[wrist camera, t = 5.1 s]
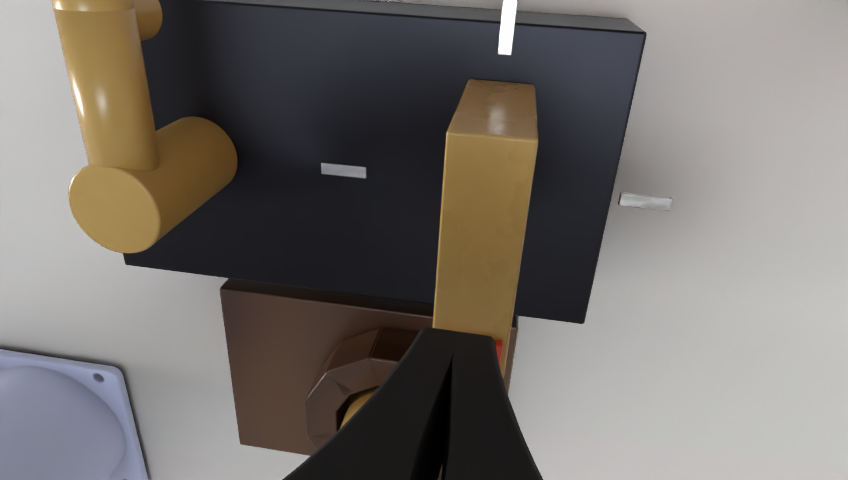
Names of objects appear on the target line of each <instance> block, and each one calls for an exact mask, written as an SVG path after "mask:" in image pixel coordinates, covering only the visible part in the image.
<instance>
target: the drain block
mask: <svg viewBox="0 0 848 480" xmlns="http://www.w3.org/2000/svg"><path fill="white" fill-rule="evenodd" d="M220 296H221V303H222V311H223V318H224V326H225V333H226V341H227V349H228V356H229V364H230V371H231V379H232V386H233V394H234V401H235V409H236V416H237V424H238V431H239V439H240V444H242V445H248V446H254V447H261V448H267V449H273V450H279V451H285V452H291V453H297V454H303V455H309V456H311V455H313V454H314V453H315V452H316V451H317V450H318V449H319V448H320V447H321V446H323V445H324V444H325V443H326V442H327V441H328V440H329V439H330V438H331V437H332V436H333V435H334V434H335V433H336V432H337V431H338V430H339V429H340V427H341V425H342V422H343V419H344V417H345V414H346V412H347V409H348V407H349V405H350V403H351V402H352V401H353V400H354V398H355V397H357V396H358V395H359V394H361V393H363V392H364V391H367V390H369V389H373V388H378V387H379V386H380V385H381V384H382V382H383V381H384V380H385V379H386V378H387V376H388V375H389V374H390V373H391V372H392V370H393V369H394V368H395V366H396V365H397V364H398V362H399V361H400V360H401V358H402V357H403V356H404V354H405V353H406V351H407V350H408V349H409V347H410V346H411V344H412V343H413V341H414V339H415V338H416V336H417V334H418V333H419V331H420V330H422V329H423V328H425V327H430V328H433V314H434V305H433V304H425V303H418V302H410V301H402V300H394V299H387V298H379V297H371V296H364V295H356V294H348V293H340V292H333V291H325V290H317V289H310V288H302V287H294V286H287V285H279V284H271V283H263V282H256V281H248V280H240V279H233V278H228V279H227V281H226V282H225V283H224V284H223V285H222V286H221V287H220ZM517 332H518V315H513V319H512V326H511V332H510V339H509V346H508V353H507V360H506V367H505V373H504V378H503V381H504V385H505V388H506V391H507V394H508V391H509V384H510V378H511V371H512V365H513V358H514V352H515V345H516V339H517ZM441 475H442V467H441V471H440V475H439V479H438V480H441Z"/></svg>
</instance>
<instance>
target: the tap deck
mask: <svg viewBox="0 0 848 480" xmlns="http://www.w3.org/2000/svg"><path fill="white" fill-rule="evenodd" d="M158 1H159V3H160V6H161V9H162V24H161V27H160V29H159V31H158V32H157V34H156V35H155V36H153V37H152V38H150V39H147V40H144V41H141V47H142V53H143V59H144V65H145V71H146V77H147V83H148V89H149V94H150V100H151V106H152V112H153V118H154V124H155V130H156V131H157V130H159V129H161V128H163V127H165V126H167V125H169V124H171V123H173V122H175V121H177V120H179V119H181V118H184V117H200V118H204V119H207V120H209V121H211V122H213V123H215V124H216V125H218V126H219V127H220V128H221V129H223V130H224V131H225V133H226V134H227V135H228V136H229V138H230V139H231V141H232V143H233V145H234V147H235V150H236V153H237V170H236V173H235V176H234V177H233V179H232V180H231V182H230V183H229V184H227V185H226V186H225V187H224V188H223V189H221V190H220V191H219V192H218V193H216V194H215V195H214V196H213V197H211V198H210V199H209V200H208V201H206V202H205V203H204V204H203V205H201V206H200V207H199V208H198V209H197V210H195V211H194V212H193V213H192V214H190V215H189V216H188V217H187V218H185V219H184V220H183V221H182V222H180V223H179V224H178V225H177V226H175V227H174V228H173V229H172V230H170V231H169V232H168V233H167V234H166V235H164V236H163V237H162V238H161V239H159V240H158V241H157V242H156V243H154V244H153V245H152V246H151V247H149V248H148V249H146V250H144V251H141V252H137V253H123V255H124V260H125V264H126V265H132V266H140V267H148V268H155V269H163V270H171V271H179V272H186V273H194V274H202V275H209V276H217V277H225V278H233V279H240V280H248V281H256V282H263V283H271V284H279V285H287V286H294V287H302V288H310V289H317V290H325V291H333V292H340V293H348V294H356V295H364V296H371V297H379V298H387V299H394V300H402V301H410V302H418V303H425V304H433V305H434V300H435V286H436V271H437V257H438V243H439V229H440V214H441V200H442V186H443V171H444V157H445V143H446V132H447V130H448V128H449V125H450V123H451V121H452V118H453V116H454V113H455V111H456V109H457V106H458V104H459V102H460V99H461V97H462V94H463V92H464V90H465V87H466V85H467V83H468V80H470V79H474V80H486V81H498V82H510V83H522V84H533V85H534V86H535V96H536V112H537V128H538V148H537V155H536V162H535V169H534V175H533V182H532V189H531V196H530V203H529V210H528V216H527V223H526V230H525V237H524V244H523V251H522V257H521V264H520V271H519V278H518V285H517V291H516V298H515V305H514V312H513V315H518V316H525V317H533V318H541V319H549V320H556V321H564V322H572V323H579V324H583V323H584V322H585V317H586V312H587V308H588V303H589V299H590V294H591V289H592V285H593V280H594V275H595V271H596V266H597V262H598V257H599V252H600V248H601V243H602V239H603V234H604V229H605V225H606V220H607V215H608V211H609V206H610V202H611V197H612V192H613V188H614V183H615V179H616V174H617V169H618V165H619V160H620V155H621V151H622V146H623V142H624V137H625V132H626V128H627V123H628V119H629V114H630V109H631V105H632V100H633V95H634V91H635V86H636V82H637V77H638V72H639V68H640V63H641V59H642V54H643V49H644V45H645V40H646V35H647V34H646V32H645V31H643V30H642V29H641V28H639V27H638V26H637V25H635V24H634V23H632V22H631V21H630V20H628V19H624V18H609V17H595V16H581V15H567V14H552V13H538V12H524V11H517V2H518V0H503V8H502V10H495V9H481V8H466V7H452V6H438V5H424V4H409V3H395V2H381V1H366V0H158ZM671 203H672V198H671V197H663V196H653V195H644V194H634V193H624V192H621V193H620V197H619V202H618V204H619V205H620V206H630V207H639V208H649V209H658V210H668V211H669V210H670V206H671Z"/></svg>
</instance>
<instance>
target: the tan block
mask: <svg viewBox="0 0 848 480" xmlns="http://www.w3.org/2000/svg"><path fill="white" fill-rule="evenodd" d="M537 148H538V128H537V112H536V96H535V86H534V85H533V84H522V83H510V82H498V81H486V80H474V79H470V80H468V83H467V85H466V87H465V90H464V92H463V94H462V97H461V99H460V102H459V104H458V106H457V109H456V111H455V113H454V116H453V118H452V121H451V123H450V125H449V128H448V130H447V132H446V143H445V157H444V171H443V186H442V200H441V214H440V229H439V243H438V257H437V271H436V286H435V300H434V314H433V328H437V329H444V330H452V331H459V332H466V333H473V334H480V335H488V336H491V337H492V338H493V339H494V340H495V341H496V349H497V356H498V361H499V366H500V370H501V374H502V377H503V378H504V373H505V367H506V360H507V353H508V346H509V339H510V332H511V326H512V319H513V312H514V305H515V298H516V291H517V285H518V278H519V271H520V264H521V257H522V251H523V244H524V237H525V230H526V223H527V216H528V210H529V203H530V196H531V189H532V182H533V175H534V169H535V162H536V155H537Z"/></svg>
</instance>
